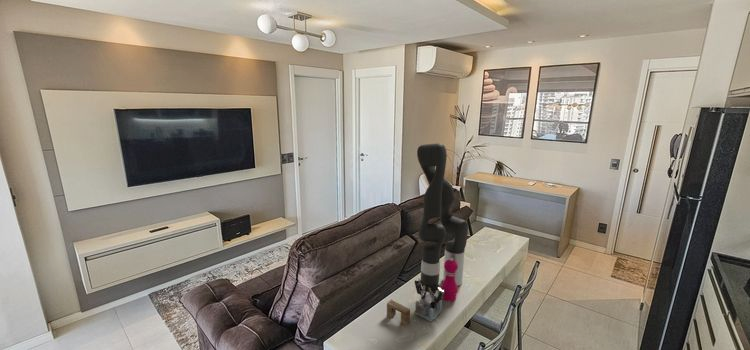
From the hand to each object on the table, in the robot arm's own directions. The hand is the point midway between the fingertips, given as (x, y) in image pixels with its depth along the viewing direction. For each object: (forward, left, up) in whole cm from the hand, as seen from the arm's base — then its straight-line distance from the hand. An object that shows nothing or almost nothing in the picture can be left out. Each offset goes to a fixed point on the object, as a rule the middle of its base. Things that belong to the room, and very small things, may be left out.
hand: (428, 306), depth 133 cm
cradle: (0, 0, -3) cm, 3 cm away
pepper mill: (-15, +2, -3) cm, 15 cm away
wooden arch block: (+12, -7, -3) cm, 14 cm away
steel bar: (-1, 0, 0) cm, 1 cm away
